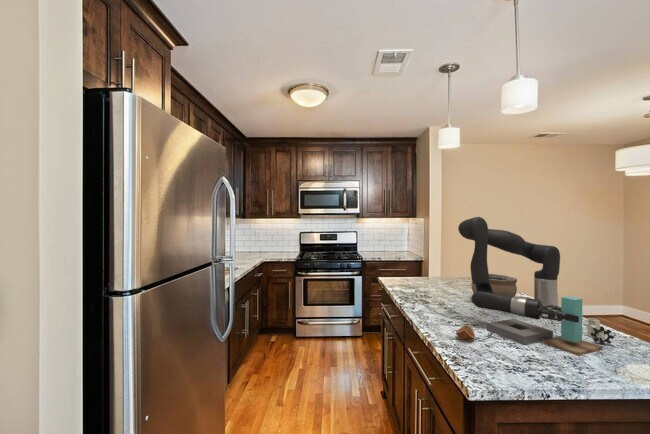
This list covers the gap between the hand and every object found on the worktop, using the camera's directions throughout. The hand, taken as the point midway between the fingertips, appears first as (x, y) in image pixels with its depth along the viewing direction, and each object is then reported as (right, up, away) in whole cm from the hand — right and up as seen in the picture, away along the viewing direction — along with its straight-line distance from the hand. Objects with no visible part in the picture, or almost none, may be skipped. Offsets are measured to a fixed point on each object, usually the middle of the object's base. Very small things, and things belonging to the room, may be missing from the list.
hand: (580, 317), depth 113 cm
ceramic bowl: (+1, -11, +59) cm, 60 cm away
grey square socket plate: (-14, -11, +13) cm, 22 cm away
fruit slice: (-38, -11, +8) cm, 40 cm away
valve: (+13, -11, +9) cm, 19 cm away
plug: (-2, -8, +2) cm, 9 cm away
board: (-2, -11, +2) cm, 11 cm away
